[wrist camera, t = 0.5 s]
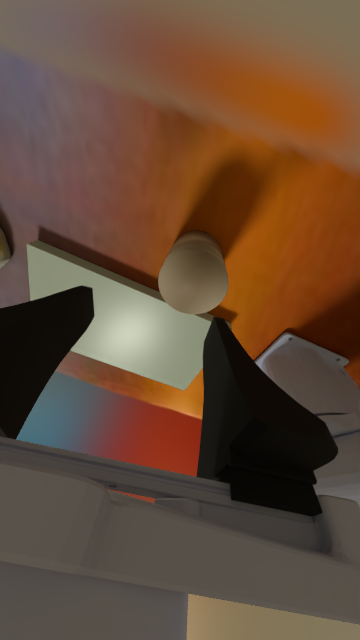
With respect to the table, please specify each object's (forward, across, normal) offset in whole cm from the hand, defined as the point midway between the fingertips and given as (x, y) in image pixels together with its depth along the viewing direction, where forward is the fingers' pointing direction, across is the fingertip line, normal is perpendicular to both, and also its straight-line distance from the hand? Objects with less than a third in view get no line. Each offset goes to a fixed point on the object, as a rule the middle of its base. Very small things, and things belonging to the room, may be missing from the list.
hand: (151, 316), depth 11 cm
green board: (+9, +4, +10) cm, 14 cm away
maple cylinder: (+10, -2, -1) cm, 10 cm away
